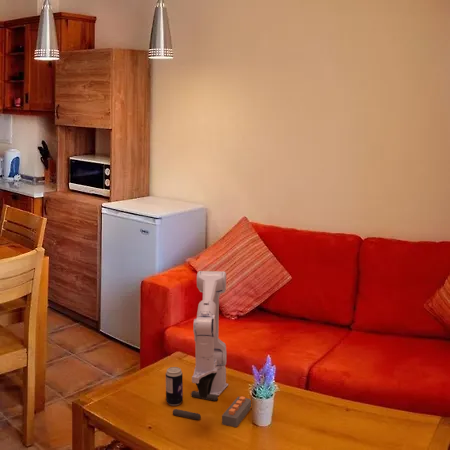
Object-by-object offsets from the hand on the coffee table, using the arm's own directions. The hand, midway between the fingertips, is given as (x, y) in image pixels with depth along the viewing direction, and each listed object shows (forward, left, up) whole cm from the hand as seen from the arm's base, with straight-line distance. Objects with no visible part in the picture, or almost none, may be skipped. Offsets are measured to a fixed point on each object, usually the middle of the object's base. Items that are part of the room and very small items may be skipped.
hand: (205, 395), depth 193 cm
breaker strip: (-10, +7, -10) cm, 16 cm away
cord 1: (-3, -8, -11) cm, 14 cm away
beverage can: (-10, -16, -11) cm, 22 cm away
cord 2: (-17, -8, -11) cm, 22 cm away
